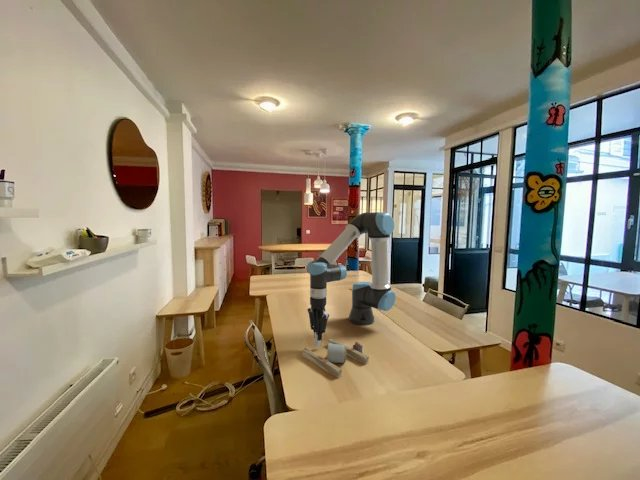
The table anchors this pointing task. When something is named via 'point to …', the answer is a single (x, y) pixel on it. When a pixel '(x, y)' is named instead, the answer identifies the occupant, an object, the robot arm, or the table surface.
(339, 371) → the beam channel
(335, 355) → the ceramic mug
